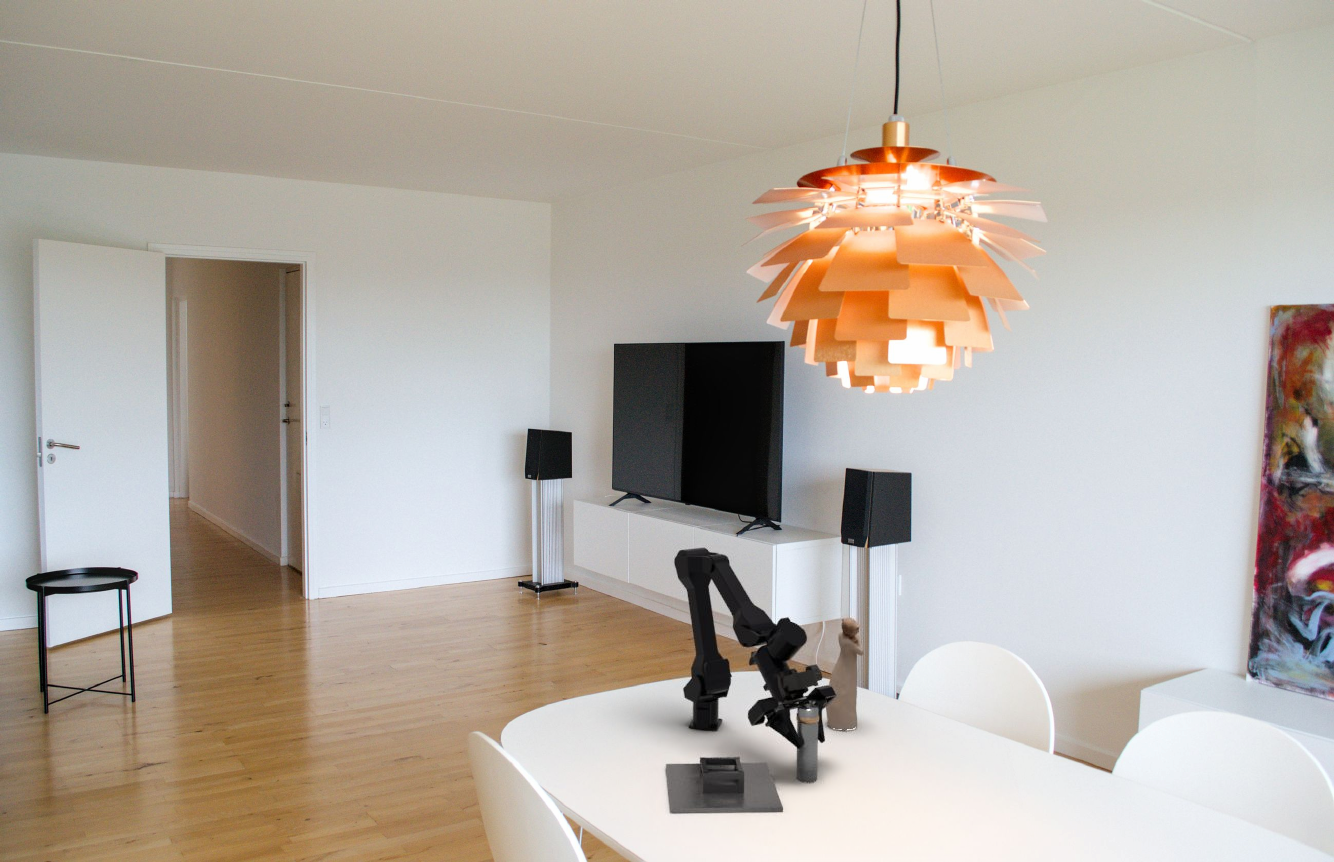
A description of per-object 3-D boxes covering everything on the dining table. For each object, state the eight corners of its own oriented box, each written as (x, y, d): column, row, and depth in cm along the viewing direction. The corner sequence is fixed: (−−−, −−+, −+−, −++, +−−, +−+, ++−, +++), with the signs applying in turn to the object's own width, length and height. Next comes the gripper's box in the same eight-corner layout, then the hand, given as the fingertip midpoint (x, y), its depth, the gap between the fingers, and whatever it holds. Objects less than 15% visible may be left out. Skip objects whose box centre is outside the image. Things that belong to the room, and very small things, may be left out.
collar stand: (666, 767, 191) (666, 745, 191) (766, 766, 192) (766, 744, 192) (670, 812, 171) (671, 788, 171) (782, 811, 172) (783, 786, 172)
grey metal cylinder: (796, 772, 189) (798, 702, 188) (819, 775, 188) (820, 704, 187) (794, 781, 185) (795, 709, 184) (816, 784, 184) (818, 712, 183)
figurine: (854, 735, 210) (856, 621, 208) (819, 726, 215) (821, 615, 213) (869, 725, 216) (872, 614, 214) (835, 716, 221) (837, 608, 220)
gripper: (757, 659, 184) (794, 734, 175) (831, 645, 194) (869, 715, 185) (732, 688, 191) (766, 762, 182) (804, 673, 201) (840, 742, 192)
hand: (812, 744), depth 185 cm, fingers open, 5 cm apart
